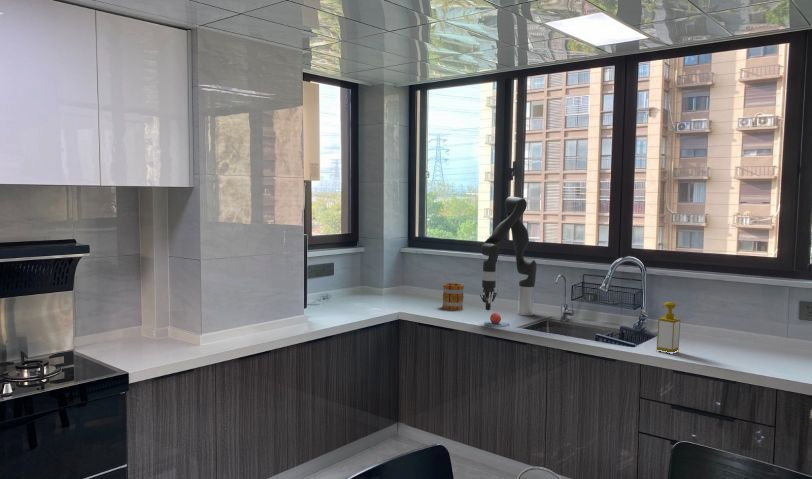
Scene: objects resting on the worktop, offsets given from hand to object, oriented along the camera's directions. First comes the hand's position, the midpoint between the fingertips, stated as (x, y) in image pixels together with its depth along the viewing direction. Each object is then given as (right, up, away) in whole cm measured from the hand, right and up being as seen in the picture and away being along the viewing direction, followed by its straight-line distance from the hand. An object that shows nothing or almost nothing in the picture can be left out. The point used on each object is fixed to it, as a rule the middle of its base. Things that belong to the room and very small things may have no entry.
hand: (488, 309), depth 339 cm
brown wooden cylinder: (-16, -4, +43) cm, 46 cm away
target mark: (+4, -7, -4) cm, 9 cm away
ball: (+4, -4, -4) cm, 7 cm away
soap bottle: (+74, -13, -58) cm, 95 cm away
